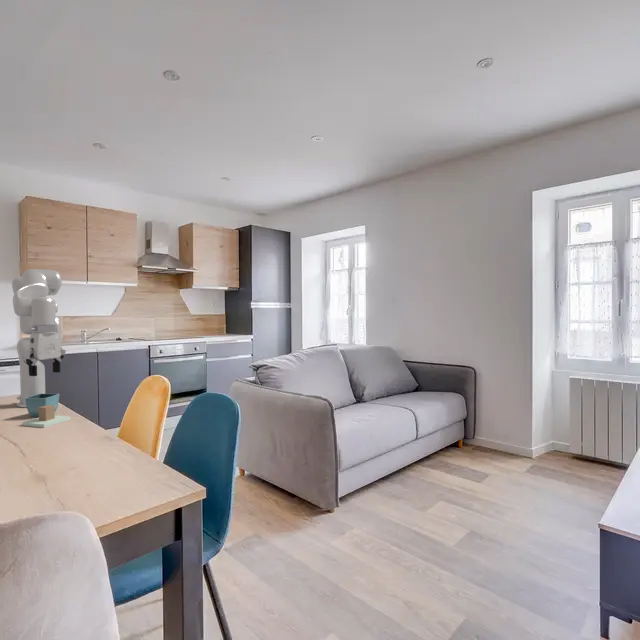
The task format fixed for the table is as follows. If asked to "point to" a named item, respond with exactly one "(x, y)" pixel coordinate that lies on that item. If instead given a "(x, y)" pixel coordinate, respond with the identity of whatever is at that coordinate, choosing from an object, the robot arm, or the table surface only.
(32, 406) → the flower pot
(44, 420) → the lid
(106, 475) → the table surface
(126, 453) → the table surface
